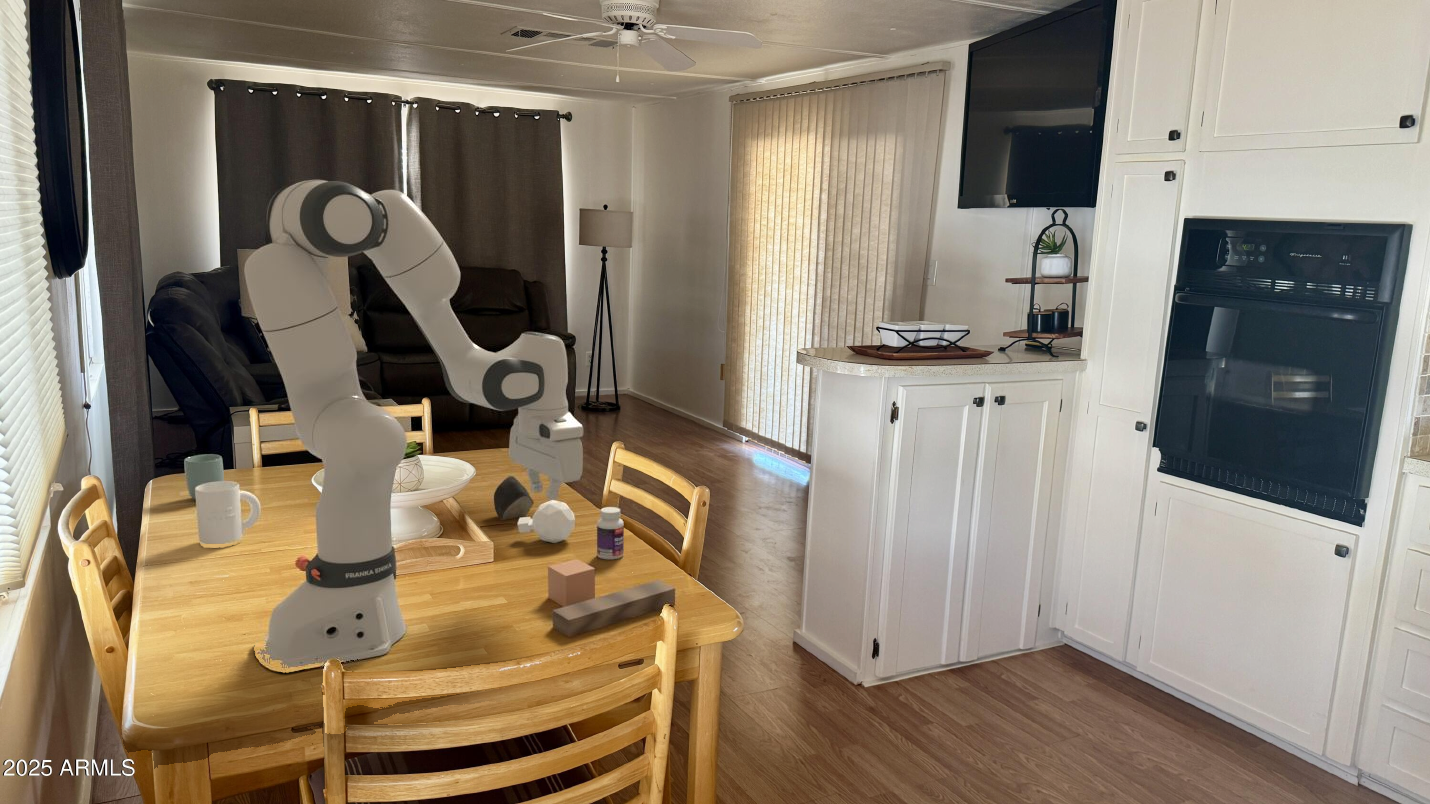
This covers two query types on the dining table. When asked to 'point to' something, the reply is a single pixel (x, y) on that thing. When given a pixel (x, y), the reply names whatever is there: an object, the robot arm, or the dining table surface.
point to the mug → (223, 512)
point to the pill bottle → (610, 534)
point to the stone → (511, 499)
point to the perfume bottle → (550, 521)
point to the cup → (202, 471)
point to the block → (571, 582)
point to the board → (612, 608)
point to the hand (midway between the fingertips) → (544, 495)
